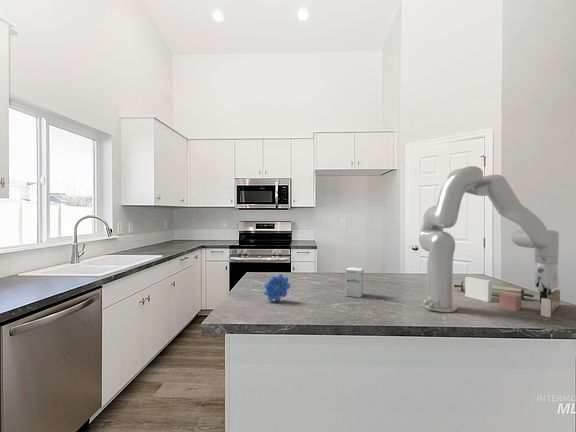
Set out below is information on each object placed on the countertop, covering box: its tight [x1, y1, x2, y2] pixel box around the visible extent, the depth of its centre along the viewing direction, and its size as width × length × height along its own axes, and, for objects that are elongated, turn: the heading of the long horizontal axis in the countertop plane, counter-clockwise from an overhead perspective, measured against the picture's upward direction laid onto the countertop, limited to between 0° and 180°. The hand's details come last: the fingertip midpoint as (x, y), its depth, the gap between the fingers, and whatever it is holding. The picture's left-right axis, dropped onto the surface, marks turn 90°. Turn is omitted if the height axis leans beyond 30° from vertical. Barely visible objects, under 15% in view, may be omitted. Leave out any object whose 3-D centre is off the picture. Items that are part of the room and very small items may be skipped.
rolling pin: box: [453, 281, 535, 301], centre depth 151 cm, size 32×6×5 cm, turn 50°
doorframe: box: [464, 276, 552, 318], centre depth 134 cm, size 5×33×9 cm, turn 31°
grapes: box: [263, 273, 291, 302], centre depth 140 cm, size 12×7×12 cm, turn 95°
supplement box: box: [344, 267, 364, 299], centre depth 150 cm, size 7×7×13 cm
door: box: [546, 288, 561, 315], centre depth 128 cm, size 2×21×6 cm, turn 132°
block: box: [498, 293, 522, 312], centre depth 130 cm, size 4×6×6 cm
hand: (545, 304), depth 130 cm, fingers closed
